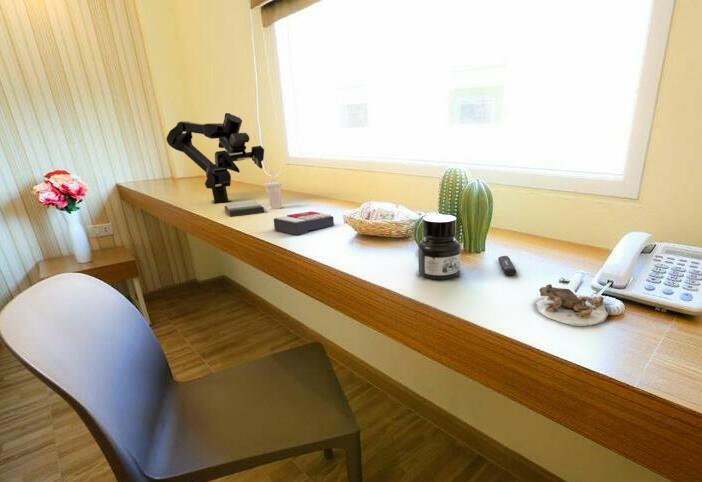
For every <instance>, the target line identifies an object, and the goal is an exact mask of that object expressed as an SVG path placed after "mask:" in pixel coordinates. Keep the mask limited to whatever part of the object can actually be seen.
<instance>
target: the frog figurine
mask: <svg viewBox="0 0 702 482" xmlns="http://www.w3.org/2000/svg"><path fill="white" fill-rule="evenodd" d="M539 293H540V294H539V296H540V297H544V298H540V299H539V300H538V301H537V302H536V303H535V306H536V309H537V310H538V312H539V313H540V314H541V315H543V316H544V317H546V318H548V319H550V320H554V321H557V322H559V323H562V324H566V325H570V326H572V327H573V326H575V327H587V326H595V325H599V324H601V323H603V322H605V321H606V319H607V318H608V316H609V311H607V310H606V309H607V307H606V304H605V302H604V300H605V297H603V296H601V295H600V296H596V295H595V296H594V297H592V296H588V295H579V294H575V293H574V292H573V291H572V290H571V289H570V288H563V287H554V286H553V284H547V285H546V286H541V287H540V288H539Z"/></svg>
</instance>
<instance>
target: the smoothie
mask: <svg viewBox="0 0 702 482" xmlns="http://www.w3.org/2000/svg"><path fill="white" fill-rule="evenodd" d="M271 181H272V182H265V183H264V184H263V186H264V187H265V190H266V194H267V197H268V200H269V205H270V208H271V210H279V209H282V182H279V181H275V177H274V172H273V171H271Z"/></svg>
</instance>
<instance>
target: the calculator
mask: <svg viewBox="0 0 702 482" xmlns="http://www.w3.org/2000/svg"><path fill="white" fill-rule="evenodd" d="M334 220H335V219H334V216H333V215H332V214H328V213H322V212H317V211H305V212H299V213H293V214H292V213H291V214H287V215H283V216H276V217H274V218H273V228H274V231H277V232H281V233H285V234H286V233H287V234H290V235H294V236H298V235H303V234H307V233H308V232H310V231H315V230H319V229H324V228H328V227H333V226H334V225H335V222H334Z"/></svg>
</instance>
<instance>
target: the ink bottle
mask: <svg viewBox="0 0 702 482" xmlns="http://www.w3.org/2000/svg"><path fill="white" fill-rule="evenodd" d="M422 232H423V233H422V234H423V238H422V240H420V241H419V243H418V245H417V246H418V247H417V249H418V250H417V254H418V255H417V256H418V257H417V258H418V260H417V262H418V273H419V275H420V276H421V277H423V278H426V279H429V280H437V281H438V280H440V281H441V280H449V279H453V278H456V277H458V276H459V275H460V274H461V259H462V258H461V257H462V245H461V243H460V242H459V240H457V238H456V236H457V217H456V216H454V215H450V214H431V215H426V216H424V217H423V218H422Z"/></svg>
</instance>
